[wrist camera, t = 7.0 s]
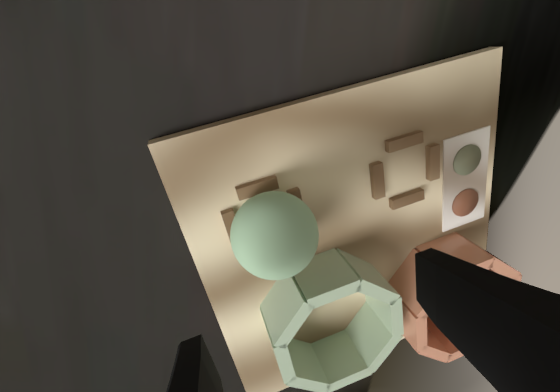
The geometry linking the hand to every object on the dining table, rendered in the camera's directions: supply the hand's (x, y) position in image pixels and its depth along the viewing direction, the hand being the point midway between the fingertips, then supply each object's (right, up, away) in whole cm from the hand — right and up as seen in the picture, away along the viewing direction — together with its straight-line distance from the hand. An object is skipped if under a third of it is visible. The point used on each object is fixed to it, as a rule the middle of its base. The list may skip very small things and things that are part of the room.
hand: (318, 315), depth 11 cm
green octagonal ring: (+1, -2, +11) cm, 11 cm away
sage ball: (-2, +3, +6) cm, 7 cm away
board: (+3, +1, +10) cm, 10 cm away
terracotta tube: (+9, -2, +13) cm, 16 cm away
